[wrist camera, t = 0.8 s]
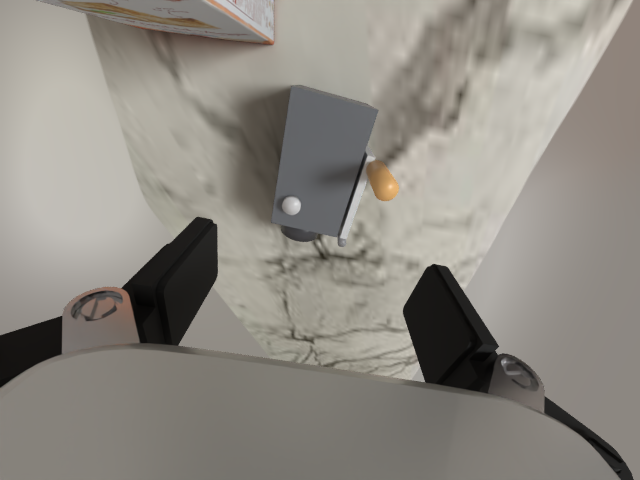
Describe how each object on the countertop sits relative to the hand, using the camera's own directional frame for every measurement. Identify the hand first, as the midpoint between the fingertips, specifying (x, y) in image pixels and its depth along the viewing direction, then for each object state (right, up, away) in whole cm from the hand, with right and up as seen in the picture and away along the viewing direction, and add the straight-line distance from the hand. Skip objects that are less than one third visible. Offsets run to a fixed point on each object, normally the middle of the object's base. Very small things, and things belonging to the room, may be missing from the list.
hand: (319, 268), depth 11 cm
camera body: (0, +11, +22) cm, 25 cm away
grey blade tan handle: (+5, +9, +23) cm, 25 cm away
